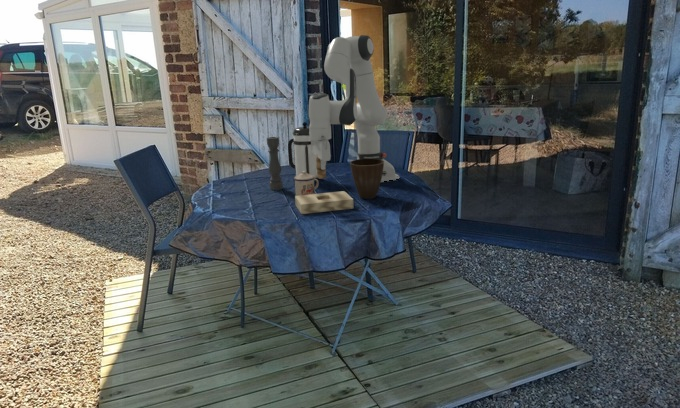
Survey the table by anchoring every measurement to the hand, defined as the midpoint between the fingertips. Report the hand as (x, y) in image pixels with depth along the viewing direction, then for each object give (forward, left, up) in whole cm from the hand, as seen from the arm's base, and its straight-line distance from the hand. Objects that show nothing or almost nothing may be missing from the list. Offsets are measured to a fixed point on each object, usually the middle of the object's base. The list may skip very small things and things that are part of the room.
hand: (321, 168), depth 202 cm
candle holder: (+15, -39, -17) cm, 45 cm away
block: (0, 0, -17) cm, 17 cm away
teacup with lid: (+3, -20, -17) cm, 26 cm away
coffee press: (-2, -52, -17) cm, 55 cm away
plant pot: (-22, -8, -17) cm, 29 cm away
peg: (0, 0, -4) cm, 4 cm away
